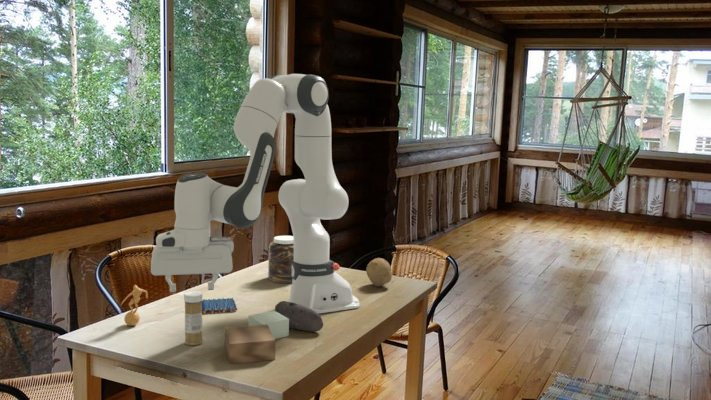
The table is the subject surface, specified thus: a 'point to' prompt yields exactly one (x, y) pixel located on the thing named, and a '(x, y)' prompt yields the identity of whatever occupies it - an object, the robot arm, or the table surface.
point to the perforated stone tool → (300, 316)
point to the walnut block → (249, 344)
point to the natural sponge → (379, 272)
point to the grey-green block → (271, 323)
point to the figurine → (133, 316)
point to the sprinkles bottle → (193, 317)
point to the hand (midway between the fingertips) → (192, 290)
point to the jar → (281, 259)
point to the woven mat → (218, 305)
